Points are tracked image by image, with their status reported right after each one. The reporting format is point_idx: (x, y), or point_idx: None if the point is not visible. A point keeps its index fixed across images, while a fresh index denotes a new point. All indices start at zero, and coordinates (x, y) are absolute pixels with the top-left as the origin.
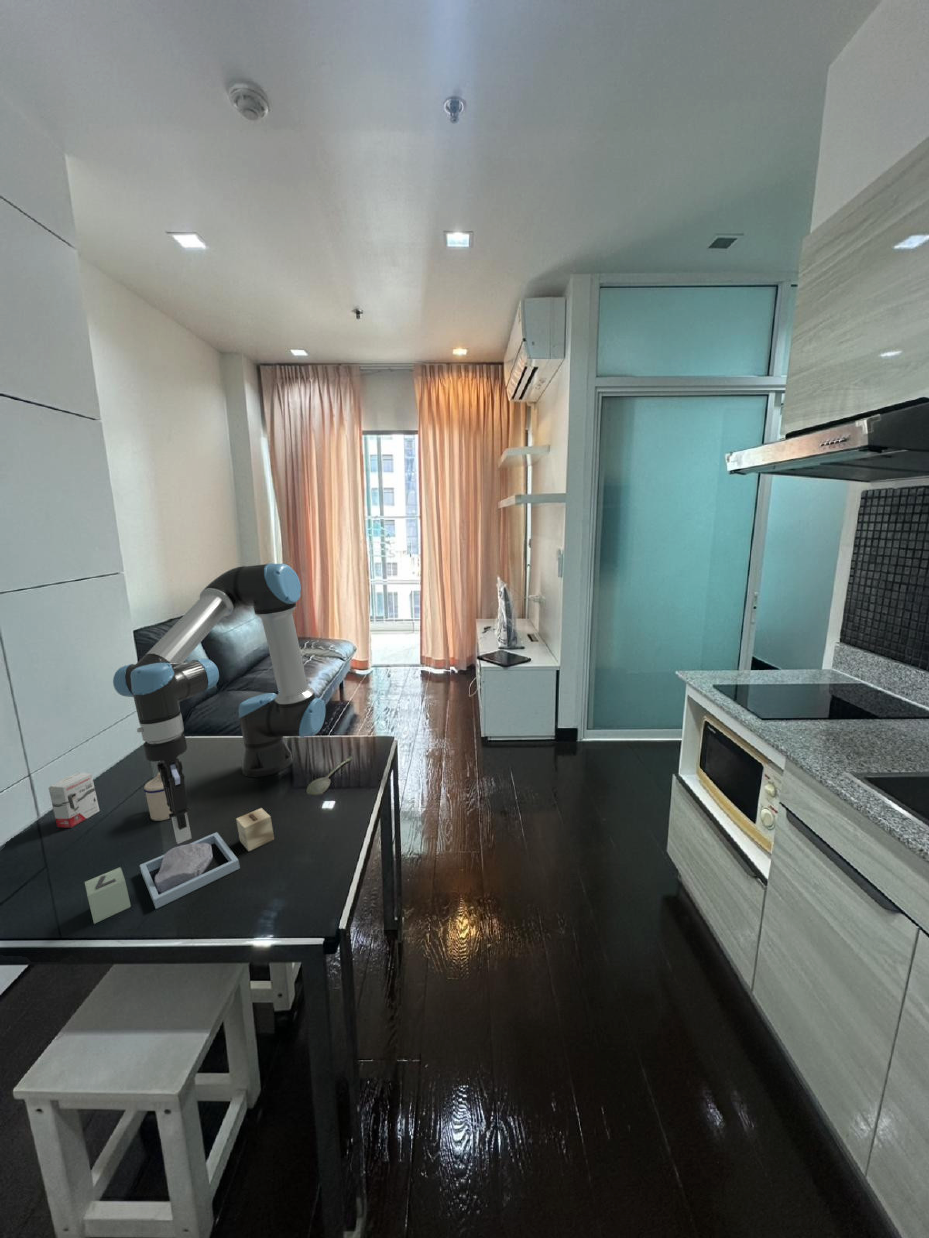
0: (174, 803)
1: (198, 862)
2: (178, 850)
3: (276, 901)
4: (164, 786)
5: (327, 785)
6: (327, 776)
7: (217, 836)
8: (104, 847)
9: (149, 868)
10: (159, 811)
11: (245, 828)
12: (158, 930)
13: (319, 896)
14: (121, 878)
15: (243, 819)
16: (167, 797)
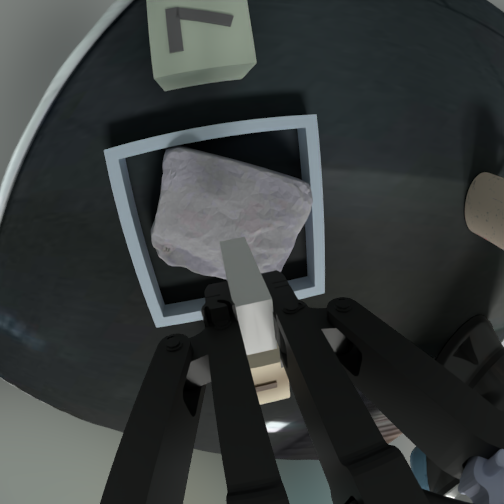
0: (134, 413)
1: (199, 253)
2: (275, 216)
3: (38, 342)
4: (409, 380)
5: None
6: None
7: (302, 293)
8: (455, 83)
9: (300, 133)
10: (484, 191)
11: None
12: (40, 162)
13: (36, 379)
14: (172, 67)
15: (266, 373)
16: (356, 337)
